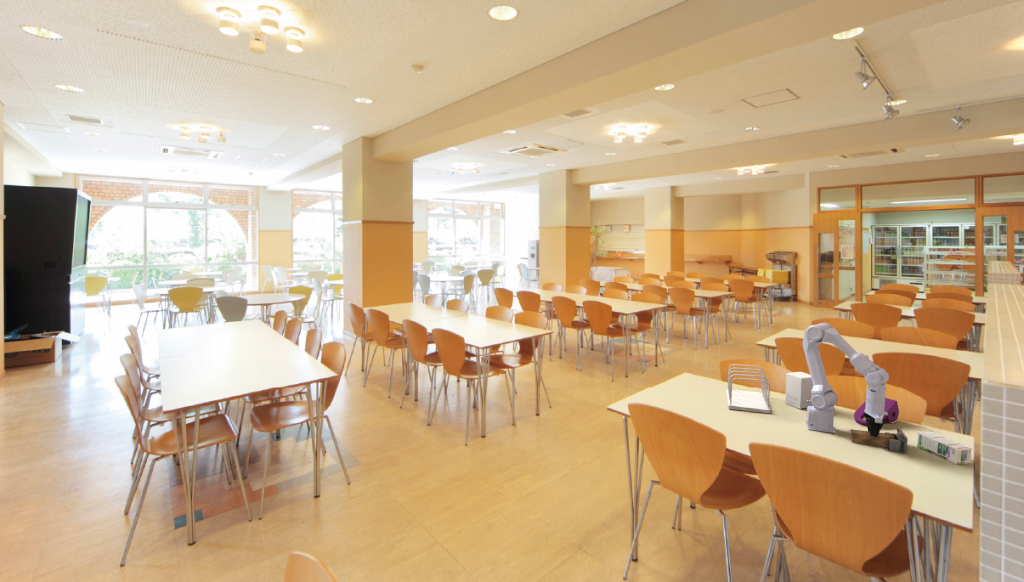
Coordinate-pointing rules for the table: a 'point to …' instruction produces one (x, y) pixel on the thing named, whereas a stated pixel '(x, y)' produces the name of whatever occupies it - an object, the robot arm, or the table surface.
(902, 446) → the bracket
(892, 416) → the mounting bracket
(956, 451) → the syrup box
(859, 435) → the rail
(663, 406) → the table surface
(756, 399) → the file sorter
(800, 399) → the supplement box
